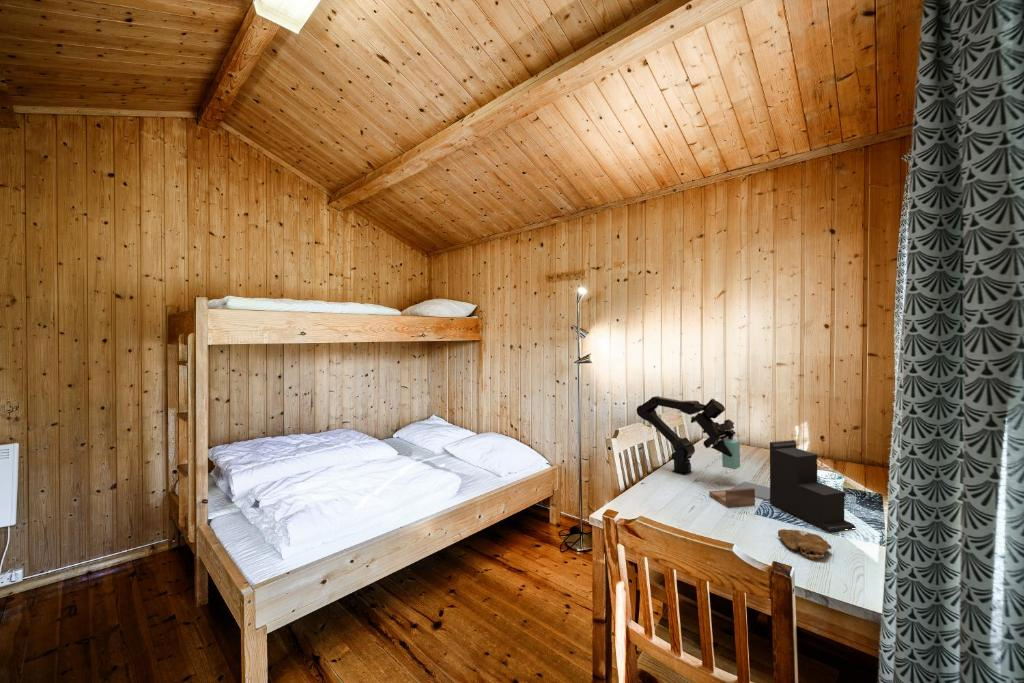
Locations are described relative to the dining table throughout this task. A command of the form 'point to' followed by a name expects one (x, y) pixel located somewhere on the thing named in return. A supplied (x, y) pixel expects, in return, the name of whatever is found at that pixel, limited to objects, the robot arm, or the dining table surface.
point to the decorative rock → (805, 543)
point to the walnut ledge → (734, 497)
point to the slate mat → (756, 490)
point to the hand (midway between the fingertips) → (734, 455)
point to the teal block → (735, 451)
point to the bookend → (804, 488)
